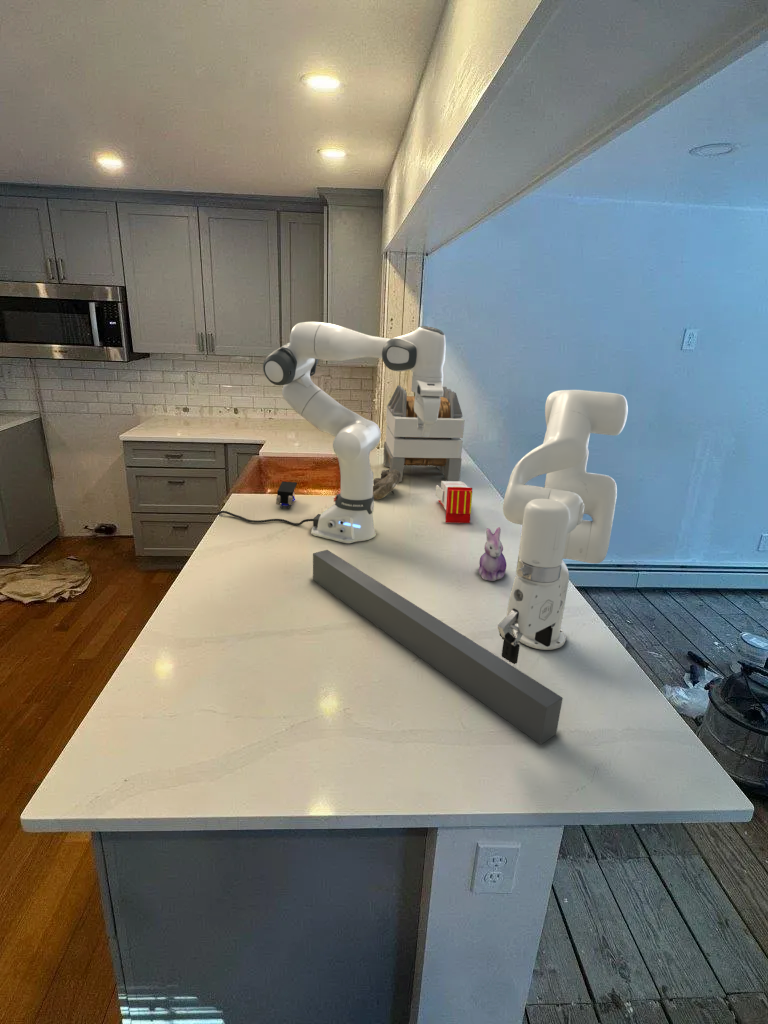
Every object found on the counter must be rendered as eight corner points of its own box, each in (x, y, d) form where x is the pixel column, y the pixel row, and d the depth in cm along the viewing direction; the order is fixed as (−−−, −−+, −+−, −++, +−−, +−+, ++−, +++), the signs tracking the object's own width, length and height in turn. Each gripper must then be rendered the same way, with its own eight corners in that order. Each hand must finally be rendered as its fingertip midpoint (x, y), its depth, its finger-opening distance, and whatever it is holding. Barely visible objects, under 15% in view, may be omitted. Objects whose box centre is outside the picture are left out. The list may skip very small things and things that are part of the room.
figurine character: (293, 513, 218) (297, 497, 231) (292, 495, 215) (297, 480, 228) (275, 513, 218) (281, 496, 231) (274, 495, 214) (280, 479, 228)
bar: (312, 579, 164) (312, 553, 161) (327, 575, 167) (327, 549, 164) (540, 744, 105) (546, 707, 102) (556, 734, 108) (562, 697, 105)
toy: (463, 477, 237) (476, 489, 207) (461, 508, 239) (474, 524, 210) (434, 476, 236) (443, 488, 207) (432, 507, 239) (441, 523, 210)
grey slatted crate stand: (382, 463, 289) (386, 382, 275) (445, 464, 293) (451, 384, 279) (390, 482, 257) (394, 392, 243) (460, 483, 261) (468, 394, 247)
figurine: (489, 584, 165) (495, 537, 160) (469, 570, 174) (474, 524, 169) (515, 579, 169) (521, 532, 164) (493, 565, 178) (499, 520, 173)
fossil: (369, 475, 252) (396, 457, 247) (382, 491, 255) (409, 474, 250) (363, 495, 232) (392, 476, 227) (377, 513, 235) (406, 494, 230)
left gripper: (411, 380, 173) (407, 425, 177) (421, 390, 153) (417, 440, 158) (431, 381, 173) (427, 426, 178) (444, 391, 154) (439, 441, 159)
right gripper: (524, 589, 92) (512, 677, 98) (585, 564, 103) (570, 646, 109) (489, 572, 98) (479, 657, 104) (550, 550, 108) (538, 628, 114)
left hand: (423, 433), depth 168 cm, fingers open, 8 cm apart
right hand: (526, 651), depth 106 cm, fingers open, 9 cm apart
